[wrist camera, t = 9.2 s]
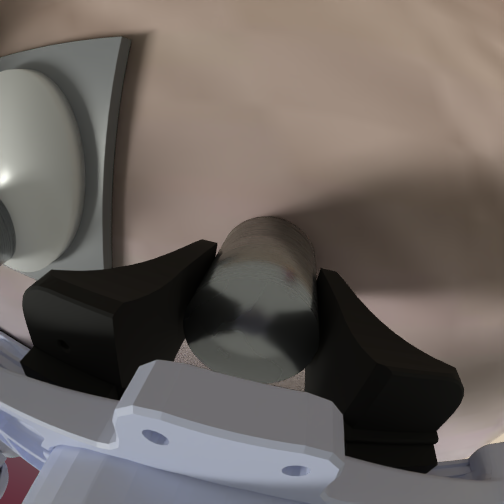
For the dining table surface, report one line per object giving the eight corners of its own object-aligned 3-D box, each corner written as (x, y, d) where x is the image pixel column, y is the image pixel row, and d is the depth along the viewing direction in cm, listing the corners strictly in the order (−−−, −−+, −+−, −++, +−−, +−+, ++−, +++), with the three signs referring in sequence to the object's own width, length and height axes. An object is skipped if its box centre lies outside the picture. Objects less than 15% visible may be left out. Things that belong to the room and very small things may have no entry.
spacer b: (300, 309, 14) (296, 393, 10) (215, 289, 14) (180, 365, 10) (326, 230, 12) (339, 299, 8) (229, 206, 12) (188, 262, 8)
